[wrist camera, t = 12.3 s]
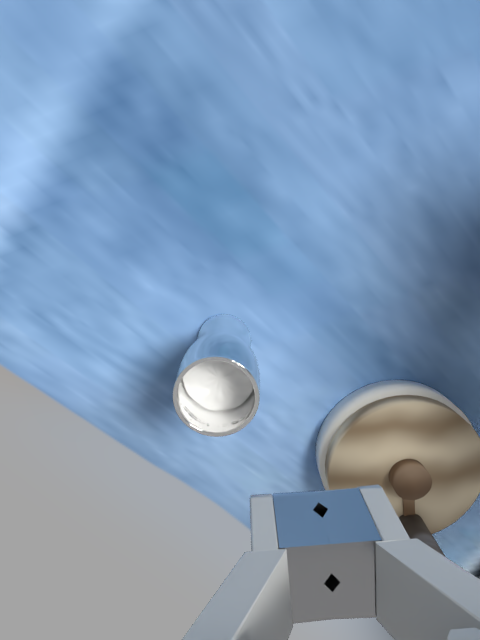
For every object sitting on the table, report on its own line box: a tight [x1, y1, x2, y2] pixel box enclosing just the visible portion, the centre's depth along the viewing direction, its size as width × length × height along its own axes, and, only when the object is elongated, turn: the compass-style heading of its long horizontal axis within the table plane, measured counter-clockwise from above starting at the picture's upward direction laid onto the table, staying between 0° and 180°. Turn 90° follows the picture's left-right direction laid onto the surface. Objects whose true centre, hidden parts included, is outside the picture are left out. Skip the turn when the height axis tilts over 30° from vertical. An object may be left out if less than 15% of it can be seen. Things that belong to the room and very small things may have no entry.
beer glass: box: [173, 314, 260, 437], centre depth 36 cm, size 7×7×15 cm
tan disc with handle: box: [325, 395, 480, 556], centre depth 40 cm, size 17×17×8 cm
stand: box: [316, 380, 473, 490], centre depth 44 cm, size 18×20×6 cm
